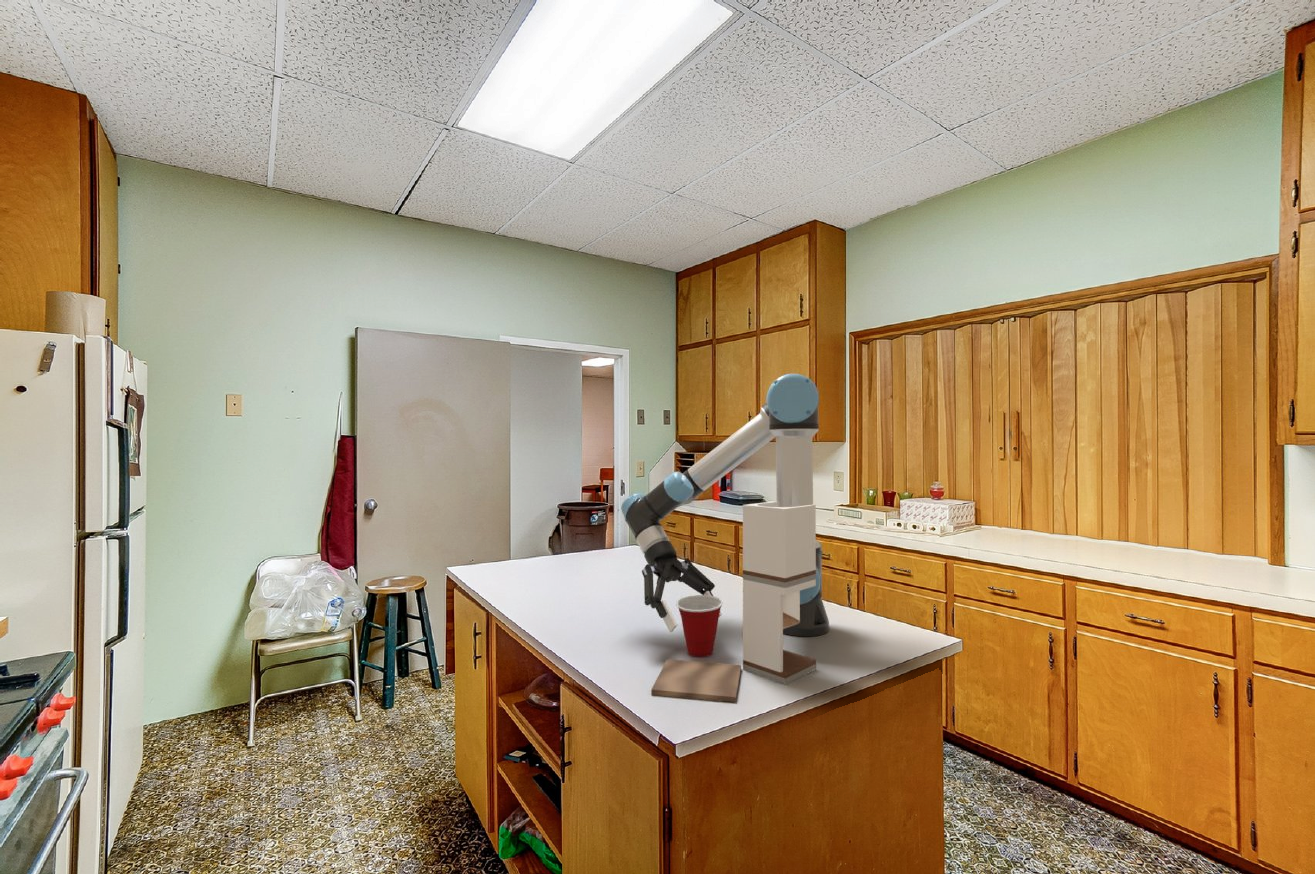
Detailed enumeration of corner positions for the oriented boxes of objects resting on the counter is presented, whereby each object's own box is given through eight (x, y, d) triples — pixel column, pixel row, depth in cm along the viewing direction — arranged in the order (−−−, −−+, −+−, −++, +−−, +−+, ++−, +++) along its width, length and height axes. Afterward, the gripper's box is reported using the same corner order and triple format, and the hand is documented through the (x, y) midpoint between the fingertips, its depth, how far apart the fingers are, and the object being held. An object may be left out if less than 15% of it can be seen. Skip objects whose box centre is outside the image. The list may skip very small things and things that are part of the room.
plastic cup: (666, 653, 133) (666, 600, 133) (697, 641, 140) (697, 592, 140) (701, 665, 125) (701, 610, 125) (732, 653, 133) (732, 600, 133)
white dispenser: (785, 684, 115) (784, 509, 116) (743, 669, 123) (742, 504, 123) (816, 669, 123) (815, 505, 124) (774, 656, 131) (774, 501, 131)
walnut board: (741, 669, 123) (741, 665, 123) (735, 702, 107) (735, 697, 107) (667, 663, 126) (667, 659, 126) (651, 694, 110) (651, 689, 110)
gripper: (687, 551, 155) (727, 621, 142) (609, 563, 139) (646, 642, 127) (701, 534, 150) (742, 604, 138) (621, 544, 135) (661, 624, 123)
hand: (696, 623), depth 133 cm, fingers open, 13 cm apart
